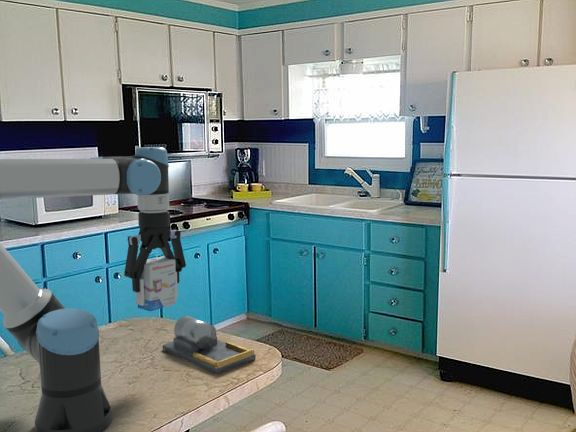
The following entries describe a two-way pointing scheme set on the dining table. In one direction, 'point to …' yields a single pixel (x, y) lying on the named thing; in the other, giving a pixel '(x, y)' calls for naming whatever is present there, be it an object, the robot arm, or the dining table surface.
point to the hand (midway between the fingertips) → (157, 300)
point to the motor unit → (206, 347)
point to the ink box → (159, 283)
